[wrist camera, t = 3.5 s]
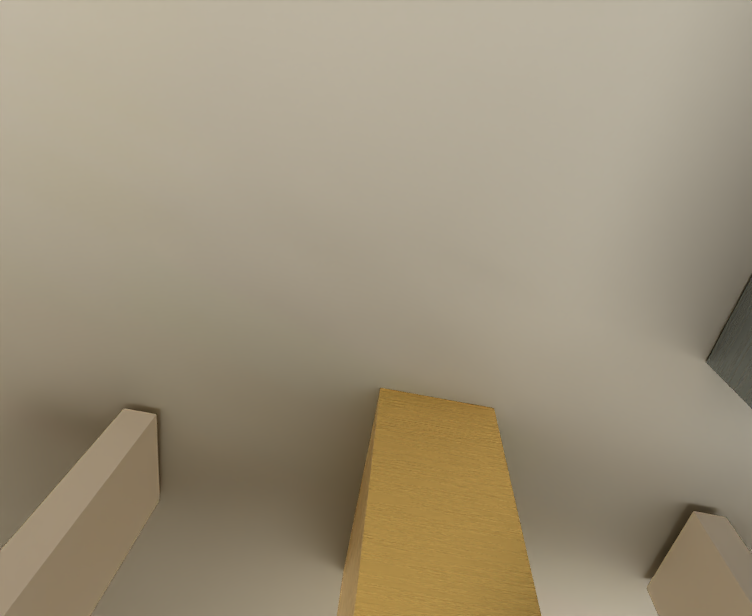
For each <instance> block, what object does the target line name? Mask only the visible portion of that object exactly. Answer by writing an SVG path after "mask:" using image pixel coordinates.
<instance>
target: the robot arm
mask: <svg viewBox="0 0 752 616" xmlns="http://www.w3.org/2000/svg"><path fill="white" fill-rule="evenodd" d="M159 501H160V494H159V466H158V438H157V414H153V413H147V412H142V411H136V410H131V409H125V408H124V409H123V410H122V411H121V412H120V413H119V415H118V416H117V417H116V418H115V419H114V420H113V421H112V423H111V424H110V425H109V426H108V427H107V428H106V429H105V431H104V432H103V433H102V434H101V435H100V436H99V438H98V439H97V440H96V441H95V442H94V443H93V444H92V446H91V447H90V448H89V449H88V450H87V451H86V453H85V454H84V455H83V456H82V457H81V458H80V459H79V461H78V462H77V463H76V464H75V465H74V466H73V467H72V469H71V470H70V471H69V472H68V473H67V474H66V476H65V477H64V478H63V479H62V480H61V481H60V482H59V484H58V485H57V486H56V487H55V488H54V489H53V490H52V492H51V493H50V494H49V495H48V496H47V497H46V499H45V500H44V501H43V502H42V503H41V504H40V505H39V507H38V508H37V509H36V510H35V511H34V512H33V513H32V515H31V516H30V517H29V518H28V519H27V520H26V522H25V523H24V524H23V525H22V526H21V527H20V528H19V530H18V531H17V532H16V533H15V534H14V535H13V537H12V538H11V539H10V540H9V541H8V542H7V543H6V545H5V546H4V547H3V548H2V549H1V550H0V616H91V614H92V612H93V611H94V609H95V607H96V606H97V604H98V602H99V601H100V599H101V597H102V596H103V594H104V592H105V591H106V589H107V587H108V586H109V584H110V582H111V581H112V579H113V577H114V576H115V574H116V572H117V571H118V569H119V567H120V566H121V564H122V562H123V561H124V559H125V557H126V556H127V554H128V552H129V551H130V549H131V547H132V546H133V544H134V542H135V541H136V539H137V537H138V536H139V534H140V532H141V531H142V529H143V527H144V526H145V524H146V522H147V521H148V519H149V517H150V516H151V514H152V512H153V511H154V509H155V507H156V506H157V504H158V502H159ZM647 591H648V593H649V595H650V597H651V600H652V602H653V604H654V606H655V609H656V611H657V613H658V616H752V554H751V553H750V551H749V550H748V548H747V547H746V545H745V544H744V542H743V541H742V539H741V538H740V537H739V535H738V534H737V532H736V531H735V529H734V528H733V526H732V525H731V523H730V522H729V521H728V519H727V518H726V517H723V516H718V515H712V514H707V513H701V512H696V511H693V513H692V514H691V516H690V518H689V519H688V521H687V522H686V524H685V526H684V527H683V529H682V531H681V532H680V534H679V535H678V537H677V539H676V540H675V542H674V544H673V545H672V547H671V549H670V550H669V552H668V553H667V555H666V557H665V558H664V560H663V562H662V563H661V565H660V567H659V568H658V570H657V571H656V573H655V575H654V576H653V578H652V580H651V581H650V583H649V585H648V586H647Z"/></svg>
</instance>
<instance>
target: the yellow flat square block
mask: <svg viewBox="0 0 752 616" xmlns="http://www.w3.org/2000/svg"><path fill="white" fill-rule="evenodd" d="M337 616H541V612H540V608H539V604H538V599H537V595H536V590H535V586H534V582H533V577H532V573H531V569H530V564H529V560H528V555H527V551H526V547H525V542H524V538H523V533H522V529H521V525H520V520H519V516H518V511H517V507H516V503H515V498H514V494H513V490H512V485H511V481H510V476H509V472H508V468H507V463H506V459H505V454H504V450H503V446H502V441H501V437H500V432H499V428H498V424H497V419H496V415H495V411H494V408H490V407H485V406H479V405H473V404H468V403H462V402H457V401H451V400H446V399H440V398H434V397H429V396H423V395H418V394H412V393H407V392H401V391H395V390H390V389H384V388H380V392H379V397H378V402H377V407H376V412H375V417H374V422H373V427H372V432H371V437H370V442H369V447H368V452H367V457H366V462H365V467H364V472H363V477H362V481H361V486H360V491H359V496H358V501H357V506H356V511H355V516H354V521H353V526H352V531H351V536H350V541H349V546H348V551H347V556H346V561H345V566H344V571H343V577H342V584H341V591H340V598H339V605H338V611H337Z"/></svg>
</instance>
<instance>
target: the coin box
mask: <svg viewBox="0 0 752 616" xmlns="http://www.w3.org/2000/svg"><path fill="white" fill-rule="evenodd" d="M706 363H707V364H708V365H709V366H710V367H711V368H712V369H713V370H714V371H715V372H716V373H717V374H718V375H719V376H720V377H721V378H722V379H723V380H724V381H725V382H726V383H727V384H728V385H729V386H730V387H731V388H732V389H733V390H734V391H735V392H736V393H737V394H738V395H739V396H740V397H741V398H742V399H743V400H744V401H745V402H746V403H747V404H748V405H749V406H750V407H751V408H752V277H751V279H750V281H749V283H748V285H747V287H746V288H745V290H744V292H743V294H742V296H741V298H740V300H739V302H738V304H737V305H736V307H735V309H734V311H733V313H732V315H731V317H730V319H729V321H728V322H727V324H726V326H725V328H724V330H723V332H722V334H721V336H720V337H719V339H718V341H717V343H716V345H715V347H714V349H713V351H712V353H711V354H710V356H709V358H708V360H707V362H706Z"/></svg>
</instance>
